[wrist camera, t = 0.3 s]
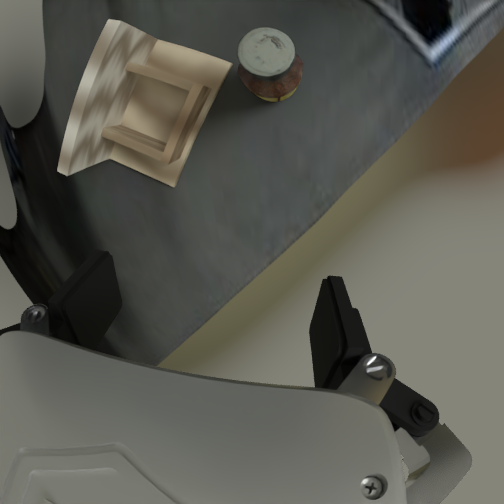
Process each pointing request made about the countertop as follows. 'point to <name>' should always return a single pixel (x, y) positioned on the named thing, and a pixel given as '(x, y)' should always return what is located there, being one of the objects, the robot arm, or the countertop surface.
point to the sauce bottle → (269, 64)
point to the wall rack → (140, 104)
